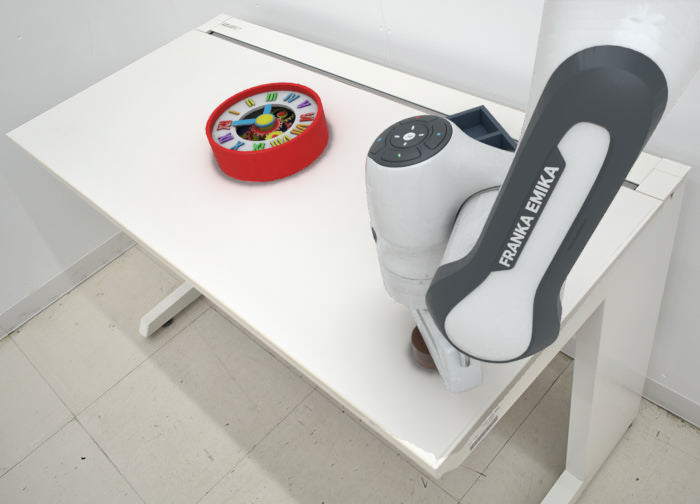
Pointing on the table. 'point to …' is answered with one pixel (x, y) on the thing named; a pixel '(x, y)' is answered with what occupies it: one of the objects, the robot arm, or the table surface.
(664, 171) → the table surface
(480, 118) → the grid
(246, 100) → the toy clock
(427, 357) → the cylinder
